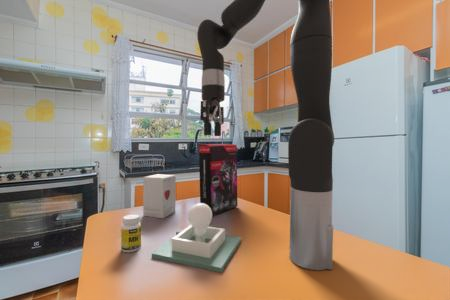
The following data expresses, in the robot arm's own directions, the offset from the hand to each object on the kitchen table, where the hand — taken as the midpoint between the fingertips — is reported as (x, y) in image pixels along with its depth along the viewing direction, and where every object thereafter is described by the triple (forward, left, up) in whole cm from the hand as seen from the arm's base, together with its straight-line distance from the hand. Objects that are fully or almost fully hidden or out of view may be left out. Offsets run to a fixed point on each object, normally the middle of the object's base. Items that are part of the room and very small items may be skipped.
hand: (212, 135), depth 73 cm
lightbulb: (-3, +16, -29) cm, 33 cm away
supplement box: (+24, -4, -30) cm, 39 cm away
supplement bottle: (+14, +22, -30) cm, 40 cm away
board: (-3, +16, -30) cm, 34 cm away
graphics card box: (+4, -16, -30) cm, 35 cm away
